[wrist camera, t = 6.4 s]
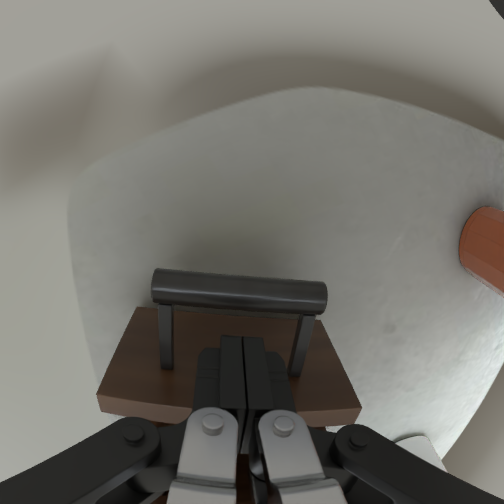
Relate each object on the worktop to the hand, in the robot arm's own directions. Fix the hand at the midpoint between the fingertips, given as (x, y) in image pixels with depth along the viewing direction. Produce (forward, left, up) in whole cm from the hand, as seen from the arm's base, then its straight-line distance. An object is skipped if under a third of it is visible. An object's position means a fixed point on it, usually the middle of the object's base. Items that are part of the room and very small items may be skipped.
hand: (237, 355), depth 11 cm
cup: (-4, +19, -9) cm, 21 cm away
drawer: (+8, 0, -8) cm, 11 cm away
